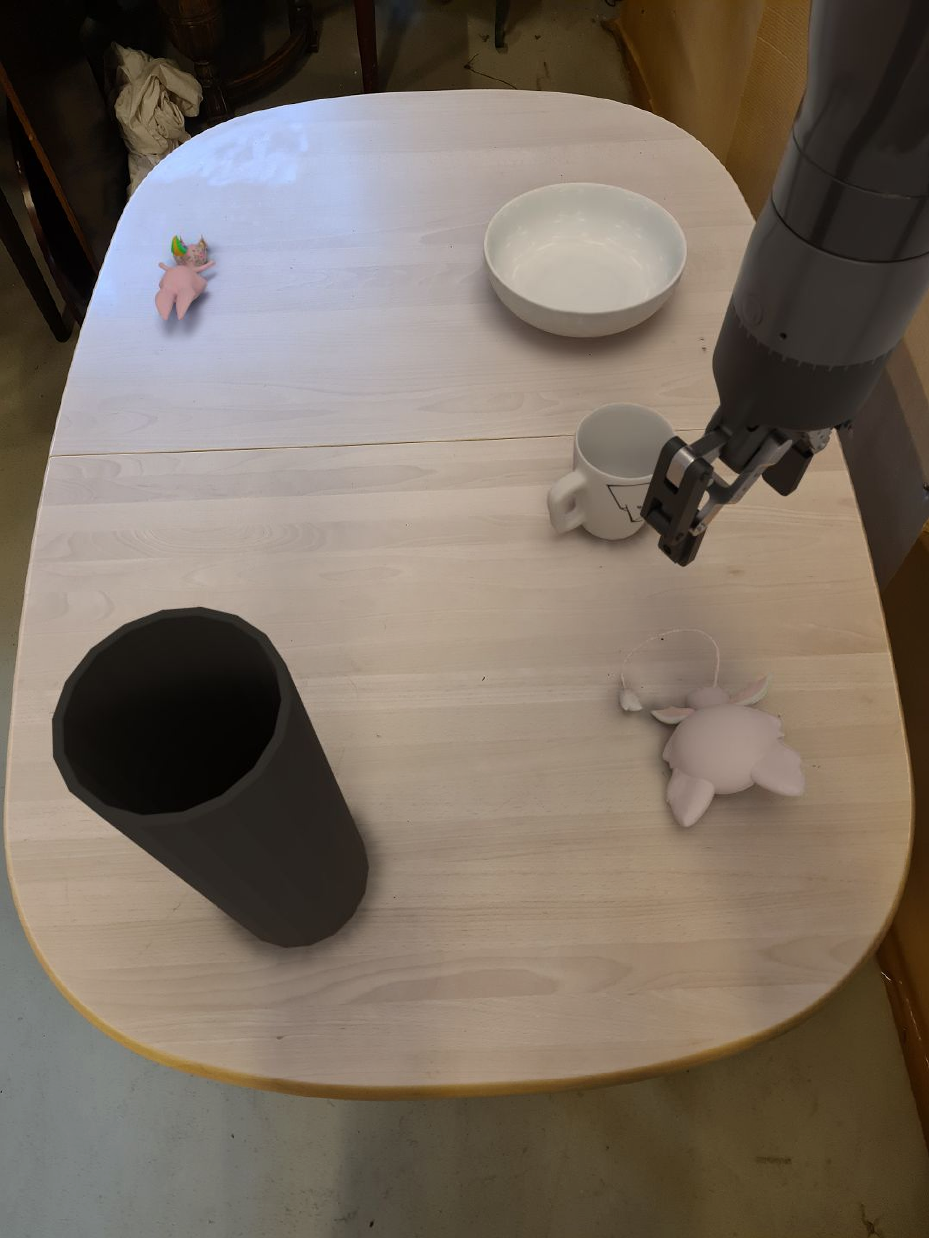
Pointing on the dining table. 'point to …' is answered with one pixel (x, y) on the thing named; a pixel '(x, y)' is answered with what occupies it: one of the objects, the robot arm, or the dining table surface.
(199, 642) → the vase
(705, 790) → the toy
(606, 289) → the serving bowl
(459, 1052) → the dining table surface
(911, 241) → the robot arm
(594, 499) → the mug
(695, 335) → the dining table surface
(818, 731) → the dining table surface
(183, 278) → the pink soft figure
